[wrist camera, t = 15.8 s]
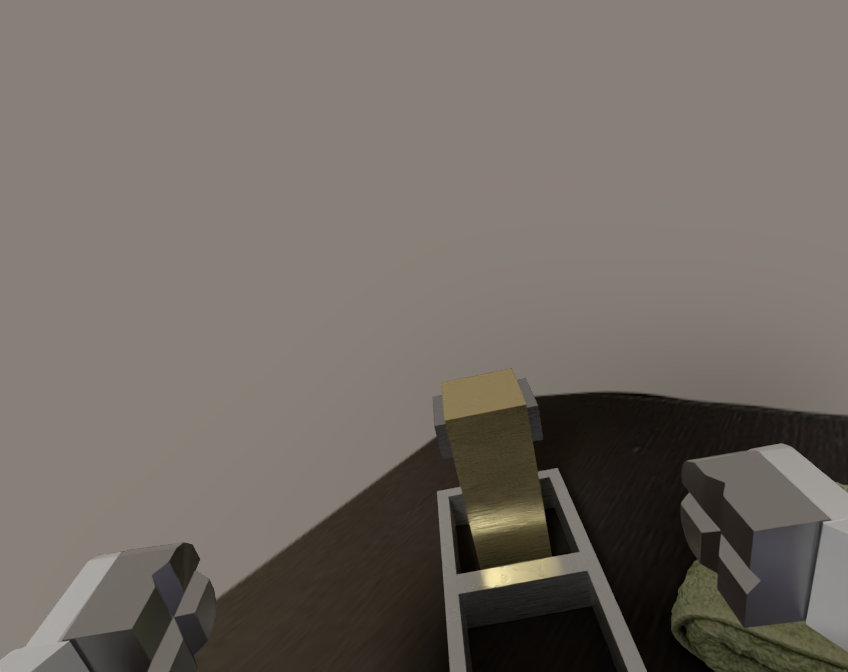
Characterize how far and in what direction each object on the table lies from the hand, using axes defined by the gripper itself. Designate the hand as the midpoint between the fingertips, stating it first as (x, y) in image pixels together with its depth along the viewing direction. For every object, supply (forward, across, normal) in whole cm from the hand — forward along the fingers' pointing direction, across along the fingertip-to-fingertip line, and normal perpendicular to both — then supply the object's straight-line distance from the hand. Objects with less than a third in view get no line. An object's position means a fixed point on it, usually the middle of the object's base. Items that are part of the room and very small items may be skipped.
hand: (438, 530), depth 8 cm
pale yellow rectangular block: (+16, -3, +18) cm, 24 cm away
